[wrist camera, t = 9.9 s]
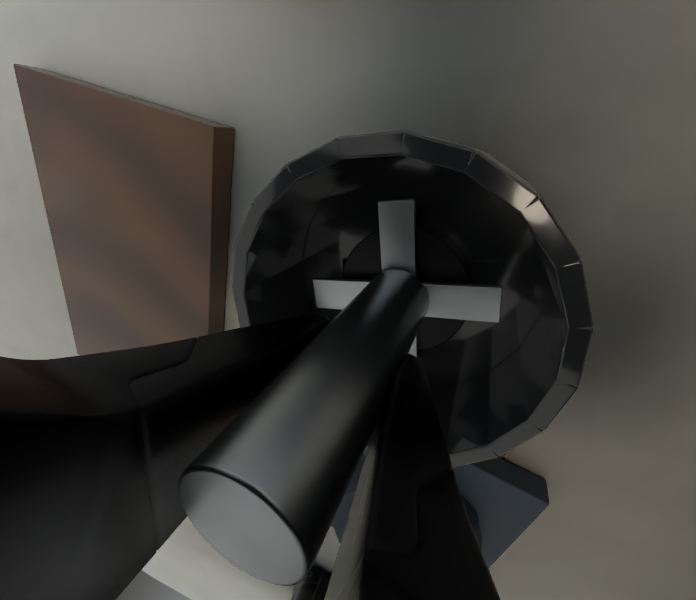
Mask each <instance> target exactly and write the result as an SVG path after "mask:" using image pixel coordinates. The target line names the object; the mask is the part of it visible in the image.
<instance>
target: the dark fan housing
mask: <svg viewBox="0 0 696 600" xmlns="http://www.w3.org/2000/svg"><path fill="white" fill-rule="evenodd" d="M403 199H415V200H416V223H419V224H424V225H427V226H430V227H433V228H435V229H437V230H439V231H441V232H442V233H444V234H446V235H447V236H448V237H450V238H451V239H452V240H453V241H454V242H455V243H456V244H457V245H458V246H459V247H460V249H461V250H462V252H463V253H464V254H465V256H466V258H467V260H468V262H469V265H470V268H471V271H472V276H473V284H479V285H502V288H503V289H502V300H501V312H500V322H499V323H494V322H482V321H470V320H465V322H464V323H463V325H462V326H461V328H460V329H459V330H458V331H457V333H456V334H455V335H453V336H452V337H451V338H450V339H449V340H447V341H445V342H444V343H442V344H440V345H438V346H436V347H433V348H430V349H426V350H420V351H418V358H421V359H422V361H423V364H424V368H425V371H426V375H427V378H428V382H429V385H430V389H431V392H432V396H433V399H434V403H435V406H436V410H437V413H438V417H439V420H440V424H441V428H442V431H443V435H444V438H445V442H446V445H447V449H448V452H449V456H450V459H451V463H452V466H453V467H457V466H462V465H466V464H471V463H476V462H480V461H485V460H489V459H494V458H498V457H500V456H502V455H504V454H506V453H507V452H509V451H511V450H512V449H514V448H516V447H517V446H519V445H521V444H523V443H524V442H526V441H528V440H529V439H531V438H533V437H534V436H536V435H538V434H540V433H541V432H542V431H543V430H545V429H546V428H547V427H548V425H549V424H550V423H551V422H552V420H553V419H554V418H555V416H556V415H557V414H558V413H559V411H560V410H561V409H562V408H563V406H564V405H565V404H566V402H567V401H568V400H569V399H570V397H571V396H572V395H573V393H574V392H575V391H576V390H577V388H578V385H579V383H580V379H581V375H582V371H583V367H584V363H585V359H586V355H587V351H588V347H589V343H590V339H591V335H592V331H593V328H592V327H593V321H592V315H591V310H590V304H589V298H588V293H587V287H586V282H585V276H584V270H583V265H582V261H581V260H580V256H579V255H578V253H577V251H576V250H575V248H574V247H573V245H572V244H571V242H570V241H569V239H568V238H567V236H566V235H565V233H564V231H563V230H562V228H561V227H560V225H559V224H558V222H557V221H556V219H555V218H554V216H553V215H552V213H551V211H550V210H549V208H548V207H547V205H546V204H545V202H544V201H543V199H542V198H541V197H540V196H539V194H538V193H537V192H536V191H535V190H534V189H533V188H532V186H531V185H530V184H529V183H528V182H527V181H526V180H525V179H523V178H522V177H521V176H519V175H518V174H516V173H515V172H514V171H512V170H511V169H509V168H508V167H507V166H505V165H504V164H503V163H501V162H500V161H499V160H497V159H496V158H494V157H493V156H491V155H490V154H489V153H487V152H486V151H483V150H481V149H478V148H474V147H470V146H466V145H463V144H460V143H455V142H452V141H448V140H444V139H440V138H437V137H432V136H428V135H423V134H418V133H413V132H409V131H406V132H405V131H395V132H384V133H374V134H364V135H354V136H344V137H340V138H336V139H334V140H332V141H330V142H328V143H326V144H324V145H322V146H320V147H318V148H316V149H314V150H312V151H310V152H308V153H306V154H304V155H302V156H300V157H298V158H296V159H294V160H292V161H290V162H288V164H286V165H285V166H284V167H283V168H282V169H281V170H280V172H279V173H278V174H277V175H276V176H275V177H274V178H273V179H272V181H271V182H270V183H269V184H268V185H267V186H266V187H265V188H264V189H263V191H262V192H261V193H260V194H259V195H258V196H257V197H256V198H255V200H254V201H253V203H252V204H251V207H250V209H249V212H248V214H247V217H246V219H245V222H244V224H243V227H242V229H241V232H240V234H239V237H238V240H237V242H236V246H235V256H234V272H233V287H232V288H233V295H234V299H235V304H236V309H237V314H238V318H239V323H240V328H242V327H247V326H252V325H257V324H262V323H267V322H272V321H276V320H281V319H286V318H291V317H296V316H301V315H305V314H310V313H319V314H321V315H323V316H326V317H328V319H329V323H330V322H331V321H332V320H333V319H334V318H335V317H336V316H337V315H338V314H339V313H340V312H341V311H342V310H339V309H327V308H317V306H316V299H315V292H314V285H313V279H314V278H339V279H341V278H342V272H343V267H344V265H345V262H346V260H347V258H348V256H349V254H350V253H351V251H352V250H353V248H354V247H355V246H356V245H357V244H358V243H359V242H360V241H362V240H363V239H364V238H365V237H367V236H368V235H370V234H372V233H373V232H375V231H376V230H378V229H379V215H378V201H385V200H403ZM373 431H374V430H373ZM372 434H373V433H372ZM371 437H372V435H371ZM371 437H370V439H369V441H368V444H367V446H366V448H365V450H364V452H363V454H365V455H366V453H367V450H368V447H369V443H370V440H371Z"/></svg>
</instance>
